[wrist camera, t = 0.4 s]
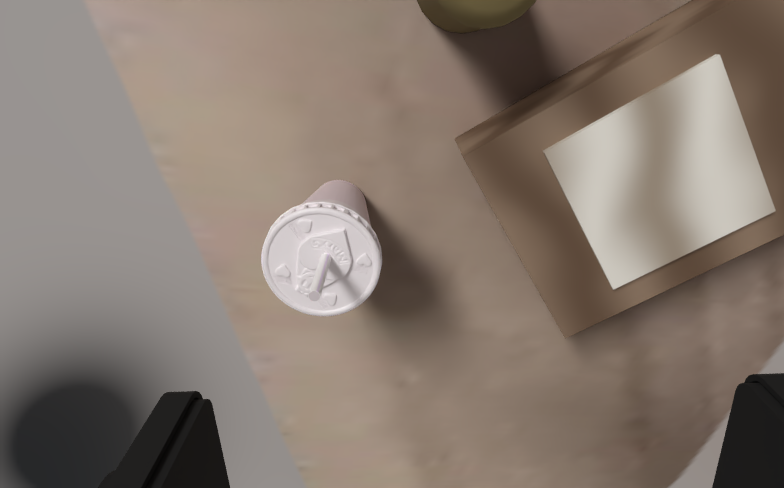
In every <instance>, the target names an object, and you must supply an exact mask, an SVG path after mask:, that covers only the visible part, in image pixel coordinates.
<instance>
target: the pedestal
mask: <svg viewBox="0 0 784 488" xmlns="http://www.w3.org/2000/svg"><path fill="white" fill-rule="evenodd" d="M455 141H456V143H457V145H458V147H459V149H460V151H461V154H462V156H463V158H464V160H465V161H466V163H467V165H468V167H469V168H470V170H471V172H472V174H473V176H474V177H475V179H476V181H477V183H478V184H479V186H480V188H481V190H482V192H483V193H484V195H485V197H486V199H487V200H488V202H489V204H490V206H491V208H492V209H493V211H494V213H495V215H496V216H497V218H498V220H499V222H500V224H501V225H502V227H503V229H504V231H505V232H506V234H507V236H508V238H509V240H510V241H511V243H512V245H513V247H514V248H515V250H516V252H517V254H518V256H519V257H520V259H521V261H522V263H523V264H524V266H525V268H526V270H527V272H528V273H529V275H530V277H531V279H532V280H533V282H534V284H535V286H536V288H537V289H538V291H539V293H540V295H541V296H542V298H543V300H544V302H545V304H546V305H547V307H548V309H549V311H550V312H551V314H552V316H553V318H554V320H555V321H556V323H557V325H558V327H559V328H560V330H561V332H562V334H563V336H564V337H565V338H567V337H569V336H572V335H574V334H576V333H578V332H580V331H582V330H584V329H586V328H588V327H591V326H593V325H595V324H597V323H599V322H601V321H603V320H605V319H607V318H609V317H612V316H614V315H616V314H618V313H620V312H622V311H624V310H626V309H628V308H631V307H633V306H635V305H637V304H639V303H641V302H643V301H645V300H647V299H650V298H652V297H654V296H656V295H658V294H660V293H662V292H664V291H666V290H668V289H671V288H673V287H675V286H677V285H679V284H681V283H683V282H685V281H687V280H690V279H692V278H694V277H696V276H698V275H700V274H702V273H704V272H706V271H708V270H711V269H713V268H715V267H717V266H719V265H721V264H723V263H725V262H727V261H730V260H732V259H734V258H736V257H738V256H740V255H742V254H744V253H746V252H749V251H751V250H753V249H755V248H757V247H759V246H761V245H763V244H765V243H767V242H770V241H772V240H774V239H776V238H778V237H780V236H782V235H784V0H691V1H690V2H688V3H686V4H685V5H683V6H681V7H679V8H678V9H676V10H674V11H673V12H671V13H669V14H667V15H666V16H664V17H662V18H661V19H659V20H657V21H655V22H654V23H652V24H650V25H649V26H647V27H645V28H644V29H642V30H640V31H638V32H637V33H635V34H633V35H632V36H630V37H628V38H626V39H625V40H623V41H621V42H620V43H618V44H616V45H614V46H613V47H611V48H609V49H608V50H606V51H604V52H602V53H601V54H599V55H597V56H596V57H594V58H592V59H590V60H589V61H587V62H585V63H584V64H582V65H580V66H578V67H577V68H575V69H573V70H572V71H570V72H568V73H566V74H565V75H563V76H561V77H560V78H558V79H556V80H554V81H553V82H551V83H549V84H548V85H546V86H544V87H542V88H541V89H539V90H537V91H536V92H534V93H532V94H530V95H529V96H527V97H525V98H524V99H522V100H520V101H518V102H517V103H515V104H513V105H512V106H510V107H508V108H506V109H505V110H503V111H501V112H500V113H498V114H496V115H494V116H493V117H491V118H489V119H488V120H486V121H484V122H482V123H481V124H479V125H477V126H476V127H474V128H472V129H470V130H469V131H467V132H465V133H464V134H462V135H460V136H458V137H457V138H455Z"/></svg>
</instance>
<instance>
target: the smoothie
mask: <svg viewBox="0 0 784 488" xmlns="http://www.w3.org/2000/svg"><path fill="white" fill-rule="evenodd" d="M261 263H262V270H263V273H264V276H265V279H266V281H267V283H268V285H269V287H270V288H271V290H272V291H273V292H274V294H275V295H276V296H277V297H278V298H279V299H280V300H281V301H283V302H284V303H285V304H287V305H288V306H290V307H291V308H293V309H295V310H297V311H300V312H302V313H306V314H309V315H315V316H334V315H339V314H343V313H346V312H348V311H351V310H353V309H354V308H356V307H358V306H359V305H361V304H362V303H363V302H364V301H365V300H366V299H367V298H368V297H369V296H370V295H371V293H372V292H373V290H374V289H375V287H376V285H377V282H378V279H379V276H380V271H381V266H382V251H381V246H380V243H379V240H378V238H377V235H376V233H375V232H374V230H373V229H372V227H371V224H370V219H369V215H368V210H367V205H366V201H365V197H364V195H363V193H362V192H361V191H360V189H359V188H358V187H357V186H355V185H354V184H352V183H350V182H348V181H344V180H333V181H329V182H327V183H325V184H323V185H322V186H321V187H320V188H318V189H317V190H316V191H315V192H314V193H313V194H312V195H311V196H310V197H309V198H308V199H307V200H306V201H304V202H303V203H302V204H301V205H298V206H295V207H292V208H291V209H289V210H288V211H287V212H285V213H284V214H282V215H281V216H279V218H278V219H277V220H276V221H275V222H274V224H273V225H272V226H271V227H270V230H269V232H268V234H267V237H266V239H265V242H264V245H263V248H262V255H261Z"/></svg>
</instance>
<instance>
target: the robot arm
mask: <svg viewBox="0 0 784 488" xmlns="http://www.w3.org/2000/svg"><path fill="white" fill-rule="evenodd" d="M98 488H230V485H229V480H228V476H227V471H226V466H225V462H224V457H223V452H222V448H221V443H220V439H219V434H218V429H217V425H216V420H215V416H214V411H213V406H212V403H211V401H210V400H209V399H203V398H202V395H201V394H200V393H199V392H197V391H190V392H189V391H188V392H167V393H165V394H163V396H162V397H161V398H160V400H159V401H158V403H157V405H156V406H155V408H154V410H153V411H152V413H151V415H150V416H149V417H148V419H147V421H146V422H145V424H144V425H143V427H142V429H141V430H140V432H139V433H138V435H137V437H136V438H135V440H134V442H133V443H132V445H131V446H130V448H129V450H128V451H127V453H126V454H125V456H124V458H123V459H122V461H121V462H120V464H119V466H118V467H117V469H116V470H115V471H113V472H111V473H109V474H108V475H107V476H106V477H105V478H104V480H103V481H102V482H101V484H100V485H99V487H98ZM712 488H784V373H781V374H753V375H749V376H748V377H747V378H746V380H745V382H744V383H741V384H739V385H738V386H737V388H736V391H735V395H734V399H733V404H732V408H731V412H730V416H729V420H728V425H727V429H726V433H725V437H724V442H723V446H722V449H721V454H720V458H719V462H718V466H717V471H716V475H715V479H714V483H713V487H712Z"/></svg>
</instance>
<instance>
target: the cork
mask: <svg viewBox="0 0 784 488" xmlns="http://www.w3.org/2000/svg"><path fill="white" fill-rule="evenodd" d="M417 2H418V4H419V6H420V8H421V10H422V12H423V13H424V14H425V15H426V16H427V17H428V19H429V20H430V21H431V22H432V23H433V24H435V25H437V26H439V27H440V28H442V29H444V30H446V31H450V32H456V33H467V32H473V31H478V30H480V29H489V28H494V27H500V26H504V25H506V24H508V23H510V22H512V21H514V20H516V19H517V18H519V17H521V16H522V15H523V14H524V13H525V12H526V11H527V10H528V9H529V8H530V7H531V6H532V5H533V4H534V3H535V2H536V0H417Z"/></svg>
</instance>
